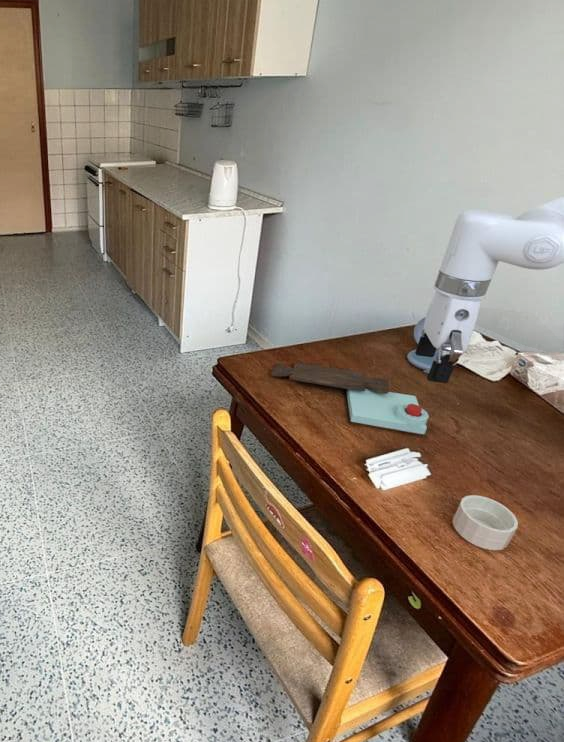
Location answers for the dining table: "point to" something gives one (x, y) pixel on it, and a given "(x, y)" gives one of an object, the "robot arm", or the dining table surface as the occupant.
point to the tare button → (413, 410)
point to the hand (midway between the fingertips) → (430, 367)
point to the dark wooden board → (331, 377)
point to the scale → (385, 410)
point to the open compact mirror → (421, 361)
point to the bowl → (484, 522)
